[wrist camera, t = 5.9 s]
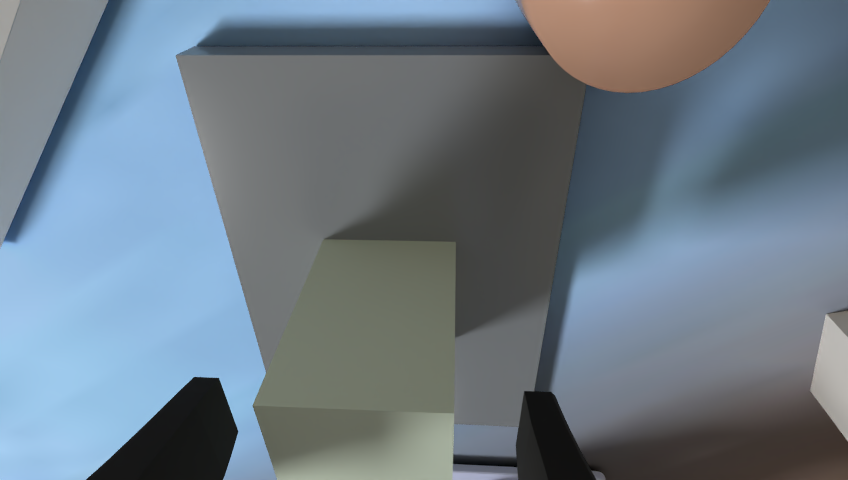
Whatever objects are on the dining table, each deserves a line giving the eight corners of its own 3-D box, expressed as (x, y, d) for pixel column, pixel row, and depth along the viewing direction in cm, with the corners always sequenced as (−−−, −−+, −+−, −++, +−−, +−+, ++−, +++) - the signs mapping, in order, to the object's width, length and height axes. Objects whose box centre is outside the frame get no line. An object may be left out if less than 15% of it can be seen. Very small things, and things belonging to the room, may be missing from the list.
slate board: (525, 405, 20) (527, 427, 19) (286, 396, 20) (278, 416, 20) (582, 46, 12) (591, 55, 11) (194, 46, 13) (175, 55, 12)
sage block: (453, 338, 17) (451, 519, 12) (338, 335, 17) (287, 510, 12) (455, 241, 14) (454, 413, 9) (323, 239, 15) (252, 405, 10)
